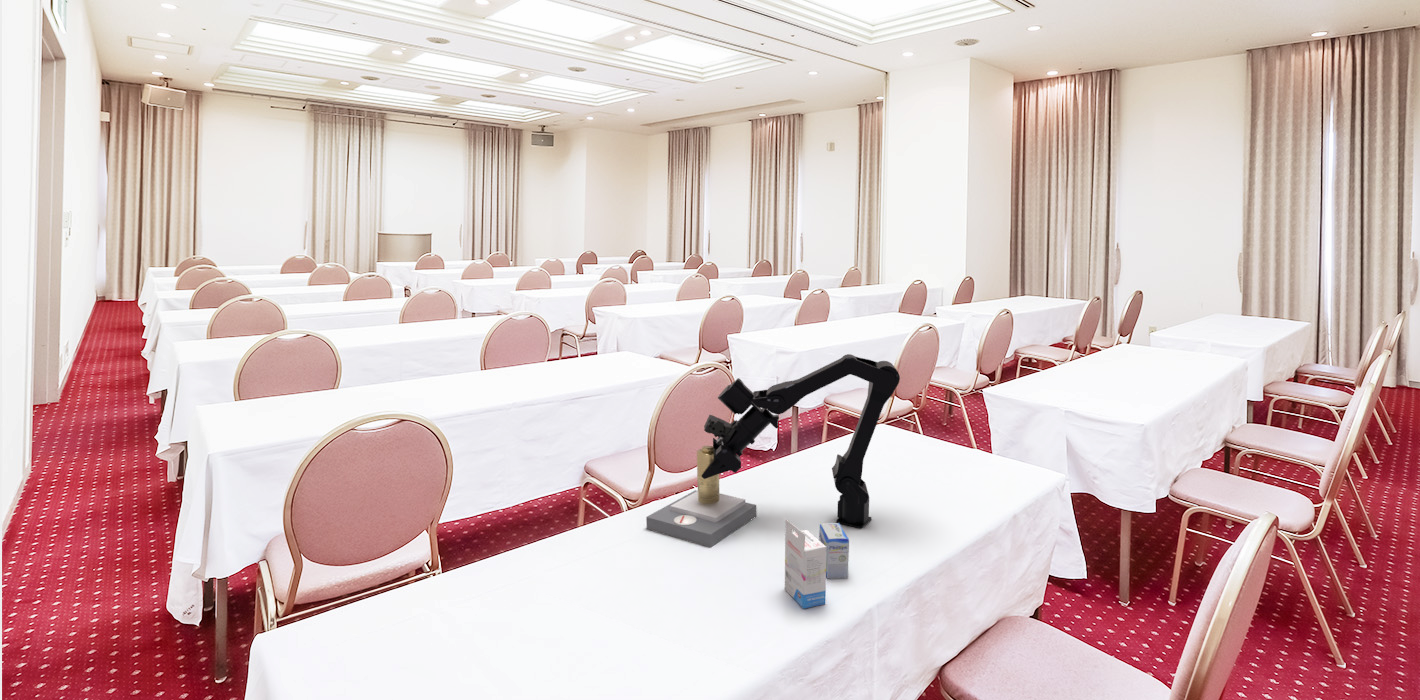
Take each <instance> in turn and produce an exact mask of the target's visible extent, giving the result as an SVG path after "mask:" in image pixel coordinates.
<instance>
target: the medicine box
mask: <svg viewBox="0 0 1420 700" xmlns="http://www.w3.org/2000/svg"><path fill="white" fill-rule="evenodd" d="M818 534H819V537H818V538H819V539H818V540H819V541H820V542H821V543H823V544H824V545H825V546H826V547H827V551H826V579H830V580H831V579H847V578H848V577H849V561H850V560H849V559H850V558H849V557H850V555H849V552H850V539H849V537H848V536H847V534H846V533H845V530H844V529H843V528H842V524H841V523H837V522H825V523H824V522H822V523H819V531H818Z"/></svg>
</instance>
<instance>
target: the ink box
mask: <svg viewBox="0 0 1420 700" xmlns="http://www.w3.org/2000/svg"><path fill="white" fill-rule="evenodd" d="M784 535H785V538H784V541H785V542H784V544H785V545H784V547H785V548H784V590H785V591H787V593H788V594H789V595H790V596H791V598H793V599H794V601H795V602H796V603H797V604H798V605H799V606H800V607H801V608H802V609H804V610H805V609H808V608H812V607H817V606H823V605H826V593H827V592H826V591H827V590H826V588H827V583H826V582H827V577H826V551H827V547H826V546H825V545H824V544H823V543H821V542H820V541H819V539H818V538H817V537H816V536H815V535H813V533H811V532H810V531H809V530H808V529H804V530H801V529H799V528H798V527H797V526H795V524H793V523H792V522H790V521H789V520H788V518H786V519H785V534H784Z"/></svg>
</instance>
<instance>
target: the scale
mask: <svg viewBox="0 0 1420 700" xmlns="http://www.w3.org/2000/svg"><path fill="white" fill-rule="evenodd" d="M719 494H720V500H719V501H718V502H716V503H712V504H705V503H701V502H699V501H698V490H696V489H695V490H693V491H691V492H690V493H687V494H686V495H684V496H683V497H681V498H678V499H677V500H674V501H673V502H671V503H669V504H667V505H665V506H664V507H662V508H661V509H658V510H657V511H655V512H653V513H650V514H649V515H648V516H646V517H645V518H646V521H645V522H646V530H648V531H652V532H656V533H659V534H663V535H666V536H670V537H673V538H676V539H680V540H683V539H684V540H683V541H687V540H688V542H690V541H691V542H690V543H694V542H695V543H694V544H697V543H698V545H702V546H704V545H705V547H708V548H712V547H713V546H715V545H717V544H718V543H719V542H721V541H723V540H724V539H726V538H727V537H728V536H729V535H731V534H733V533H734V532H736V531H737V530H738V529H740V528H742V527H744V526H745V525H746V524H747V522H748V521H749V522H751V521H752V520H754V519H755V518H756V517H757V504H755V503H749V502H746V499H744V498H740V497H737V496H732V495H729V494H724V493H721V492H719ZM754 517H755V518H754ZM753 518H754V519H753ZM751 519H752V520H751ZM750 520H751V521H750ZM749 522H748V523H749ZM744 524H745V525H744ZM735 530H736V531H735Z"/></svg>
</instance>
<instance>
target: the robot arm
mask: <svg viewBox="0 0 1420 700" xmlns="http://www.w3.org/2000/svg"><path fill="white" fill-rule="evenodd" d="M899 373H900V372H899V371H898V370H897V368H896V367H895V366H894V365H893V363H891V362H890V361H888V360H880V361H875V360H871V359H868V358H865V357H864V358H863V357H858V356H855V355H853V354H850V353H848V354H844V355H843V356H841V357H840V358H839V359H836V360H834V361H832V362H830V363H827V364H826V365H824V366H823V367H820V368H818V369H817V370H814V371H812V372H810V373H808V374H806V375H804V376H801V377H800V378H798V379H793V380H788V381H784V382H780V383H777V384H773V385H771V386H770V387H768V389H762V390H755V391H752V390H751V389H750V388H749V387H748V386H747V385H746V384H745V383H744V381H742V380H741V378H737V379H736V380H734V381H732V383H730V384H728V385H727V386H726V387H725V388H724V389H723V390H722V391H721V392H720V394H719V395H718V396H717V399H718V400H719V401H720V402H721V403H722V404H723V405H724V406H726V407H727V408H728V409H729V410H730V411H731V412H732V413H733V414H734V415H742V416H741V417H740V418H739V419H738V420H737V419H734V420H733V421H732V422H731V423H730V422H728V421H726V420H725V419H722V418H720V417H717V416H714V415H713V414H709V415H708V417H707V420H706V421H705V423H704V426H703V430H704V431H705V433H707V434H712V435H713V436H714V437H713V438H712V446H713V447H714V459H713V460H712V461H711V463H710V464H709V465H708V467H707V468H706V470H705V471H704V472H703V474H702V477H703V478H704V479H706V478H709V477H712V476H714V475H717V474H719V475H720V474H722V473H723V474H724V473H726V472H731V471H732V472H733V473H734V474H737V473H738V471H740V469H741V468H742V461H741V456H742V455H743V451H744V450H745V449H746V448H747V447H748V446H749V445H754V444H755V442H756V441H755V439H756V438H757V437H758V436H759V435H760V434H761V433H762V432H763V431H765V429H766V428H768V426H769V425H770V424H771V425H772V426H773V427H774V428H775V429H778V428H779V418H780V416H779V415H781V414H784V413H786V412H787V411H788V410H790V409H791V408H793V407H794V406H795V405H797V403H798V402H800V401H801V400H802V399H803V398H805V397H806V396H808V395H809V394H812V393H814V392H817V391H818V390H820V389H822V388H824V387H826V386H829V385H830V384H833V383H835V382H836V381H839V380H841V379H844V378H846V377H847V376H849V375H852V376H854V377H856V378H859V379H861V380H864V381H866V382H868V388H867V396H866V400H865V403H864V406H863V408H862V409H861V414H860V416H859V418H858V422H857V424H856V427H855V430H854V432H853V435H852V437H851V441H850V443H849V446H848V448H847V450H846V451H845V453H844V454H843V455H840V454H837V455H836V459H835V463H834V465H833V466H832V467H831V470H832V477H833V481H834V487H835V488H836V490H837V492H839V493H840V495H839V500H837V511H836V512H837V513H836V514H837V519H836V520H835V521H836V522H835V523H840V525H845V526H848V527H849V526H850V527H854V528H859V529H862V528H864V526H866V525H867V524H868V523H869V522H871V520H872V517H871V516H870V515H869V514H870V495H869V491H868V487H867V484H866V481H864V479H862V475H863V469H864V468H863V466H864V459H865V456H866V453H867V450H868V448H869V445H870V442H871V440H872V437H873V435H874V432H875V429H876V427H877V425H878V421H879V420H880V416H881V415H882V411H883V408H884V406H885V404H886V403H887V402H888V401H889V399H890V398H891V397H892V396H893V394H894V392H895V390H896V389H897V387H898V386H899V383H900V380H901V379H900V378H901V377H900V376H901V375H900V374H899ZM745 412H746V413H745ZM715 449H717V450H715Z"/></svg>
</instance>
